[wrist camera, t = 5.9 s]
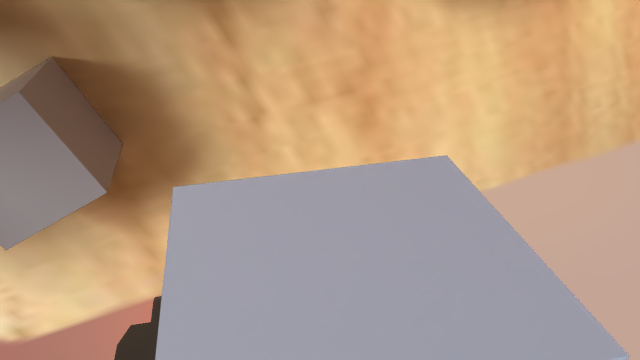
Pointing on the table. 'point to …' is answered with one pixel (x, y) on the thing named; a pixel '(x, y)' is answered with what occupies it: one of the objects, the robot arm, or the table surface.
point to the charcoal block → (49, 152)
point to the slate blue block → (362, 273)
